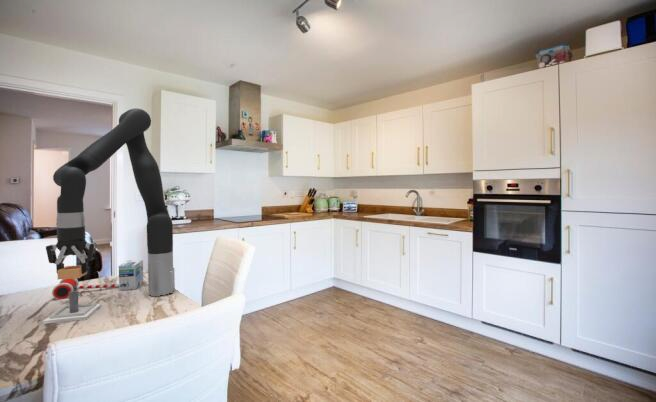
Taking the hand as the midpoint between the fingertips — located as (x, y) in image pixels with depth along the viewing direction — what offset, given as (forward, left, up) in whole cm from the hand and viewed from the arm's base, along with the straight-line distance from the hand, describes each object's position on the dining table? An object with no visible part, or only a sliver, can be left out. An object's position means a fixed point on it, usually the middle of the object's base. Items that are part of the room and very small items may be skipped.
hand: (72, 273), depth 108 cm
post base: (0, 0, -14) cm, 14 cm away
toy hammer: (+7, -26, -15) cm, 31 cm away
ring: (0, 0, -1) cm, 1 cm away
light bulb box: (-10, -29, -15) cm, 34 cm away
